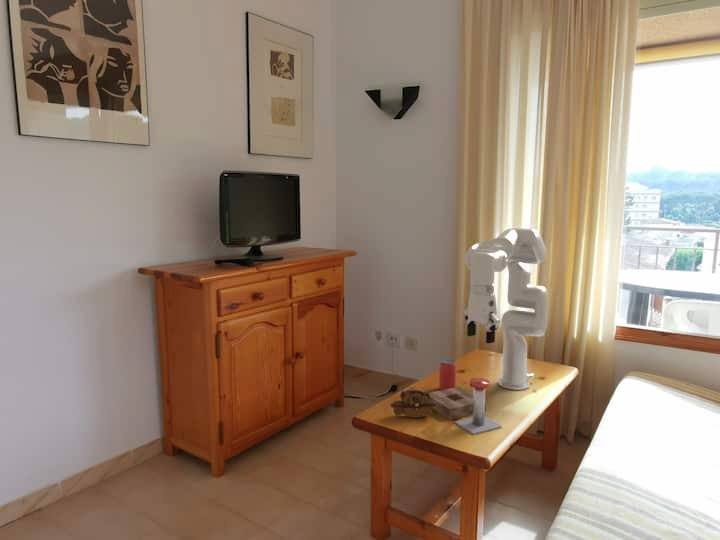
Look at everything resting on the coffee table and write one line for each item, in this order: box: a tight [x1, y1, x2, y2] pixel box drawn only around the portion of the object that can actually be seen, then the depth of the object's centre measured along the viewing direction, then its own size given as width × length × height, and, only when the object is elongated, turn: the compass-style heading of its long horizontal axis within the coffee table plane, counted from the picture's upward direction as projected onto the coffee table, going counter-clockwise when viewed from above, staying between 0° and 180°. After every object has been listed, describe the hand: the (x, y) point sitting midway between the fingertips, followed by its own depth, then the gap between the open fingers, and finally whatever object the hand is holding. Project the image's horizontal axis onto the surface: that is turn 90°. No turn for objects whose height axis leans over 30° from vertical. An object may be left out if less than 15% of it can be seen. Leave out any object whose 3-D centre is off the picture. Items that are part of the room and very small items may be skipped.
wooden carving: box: [390, 387, 437, 419], centre depth 184 cm, size 16×5×10 cm, turn 95°
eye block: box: [428, 386, 487, 421], centre depth 192 cm, size 16×16×4 cm
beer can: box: [438, 358, 457, 391], centre depth 209 cm, size 7×7×12 cm
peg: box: [468, 377, 491, 426], centre depth 176 cm, size 7×7×15 cm
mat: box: [454, 416, 503, 436], centre depth 177 cm, size 12×10×1 cm
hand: (480, 339), depth 174 cm, fingers open, 9 cm apart
